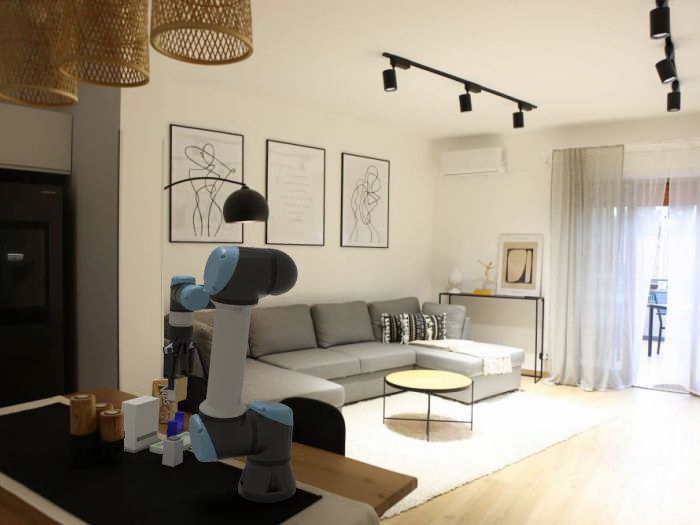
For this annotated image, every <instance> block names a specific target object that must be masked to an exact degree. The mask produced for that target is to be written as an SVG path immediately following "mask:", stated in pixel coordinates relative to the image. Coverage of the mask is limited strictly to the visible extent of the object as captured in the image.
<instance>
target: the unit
mask: <svg viewBox="0 0 700 525" xmlns="http://www.w3.org/2000/svg"><path fill="white" fill-rule="evenodd" d="M159 405H160V398H156V397H152V395H151V396H150V395H142V396H139V397H136V398H135V397H134V398H132V399H128V400H124V401H122V402H121V411H122V412H124V431H125V438H124V451H123V452H127V453H131V454H135V453H138V452H141V451H143V450H146V449H150V445H153V444H156V443H158V442H161V441H163V439H160V438H158V437H159V425H160V423H159Z"/></svg>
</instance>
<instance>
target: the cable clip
mask: <svg viewBox="0 0 700 525" xmlns="http://www.w3.org/2000/svg"><path fill="white" fill-rule="evenodd" d="M185 414H186V413H185V411H177V412H175V418H174V420H171V421H168V423H167V429H166V439H167V438H168V437H170V436H173V435H174V436H176V435H179V434H181V433H183V430H184V429H185V428H184V427H185ZM183 428H184V429H183Z"/></svg>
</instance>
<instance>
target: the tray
mask: <svg viewBox="0 0 700 525" xmlns="http://www.w3.org/2000/svg"><path fill="white" fill-rule="evenodd" d="M176 436H178V437H181V438H182V439H184V442H183V451H184V452H186V451H188V450H190V449H189V448H191V447H192V445H191V440H190V434H189V431H184V432H181V433H180V434H179V435H176ZM187 449H188V450H187ZM191 449H192V448H191ZM185 450H186V451H185ZM149 452H151V453H155V454H158V455H162V454H163V440H162V441H161V442H158V443H156V444H153V445H150V447H149Z"/></svg>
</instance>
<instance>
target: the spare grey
mask: <svg viewBox="0 0 700 525" xmlns="http://www.w3.org/2000/svg"><path fill="white" fill-rule="evenodd" d="M162 441H163V455H162V459H161V460H162V462H161V464H162V465H165V466H169V467H172V468H174V467H175V466H178V465H180V464H182V463H183V460H184V459H183V458H184V457H183V456H184V452H183V442H184V439H182V438H181V437H178V436H174V435H173V436H170V437H168V438H167V437H166V439H162Z"/></svg>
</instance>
